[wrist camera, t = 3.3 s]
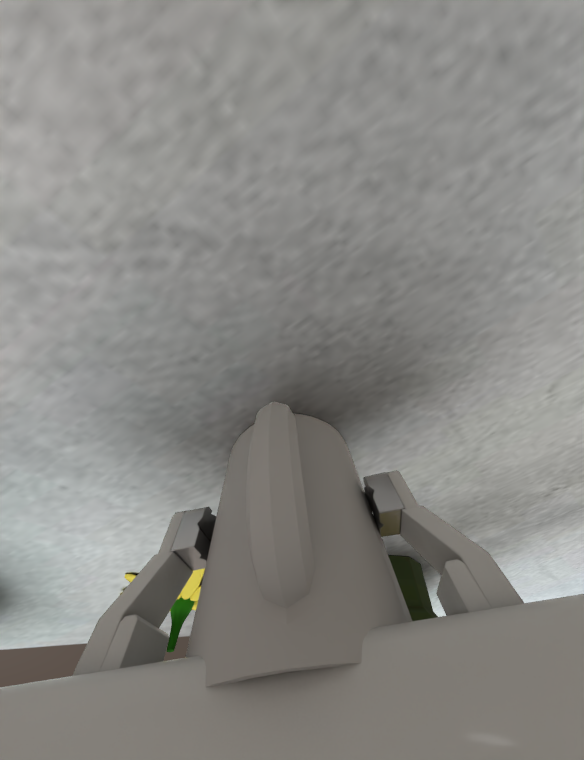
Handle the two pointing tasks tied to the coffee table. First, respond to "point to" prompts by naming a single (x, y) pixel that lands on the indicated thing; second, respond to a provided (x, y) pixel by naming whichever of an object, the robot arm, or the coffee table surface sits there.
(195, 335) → the coffee table surface
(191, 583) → the flower
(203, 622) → the cup
